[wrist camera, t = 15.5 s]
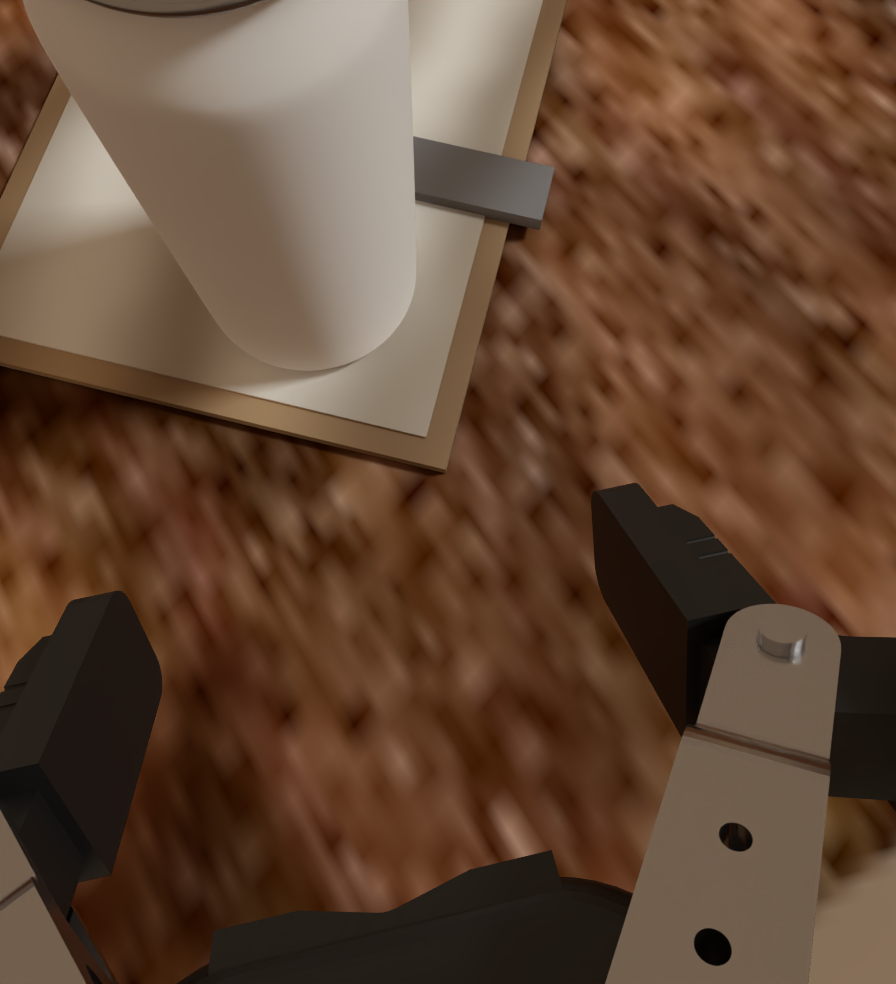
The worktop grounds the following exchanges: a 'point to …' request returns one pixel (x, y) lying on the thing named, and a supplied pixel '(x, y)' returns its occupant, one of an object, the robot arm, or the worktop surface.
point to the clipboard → (187, 322)
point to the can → (260, 155)
